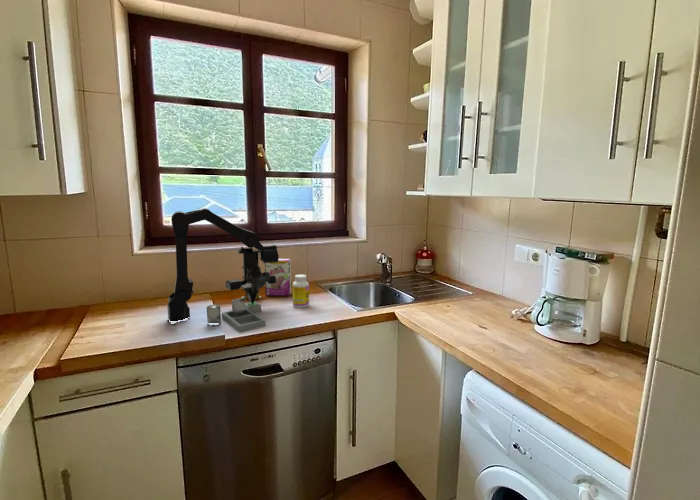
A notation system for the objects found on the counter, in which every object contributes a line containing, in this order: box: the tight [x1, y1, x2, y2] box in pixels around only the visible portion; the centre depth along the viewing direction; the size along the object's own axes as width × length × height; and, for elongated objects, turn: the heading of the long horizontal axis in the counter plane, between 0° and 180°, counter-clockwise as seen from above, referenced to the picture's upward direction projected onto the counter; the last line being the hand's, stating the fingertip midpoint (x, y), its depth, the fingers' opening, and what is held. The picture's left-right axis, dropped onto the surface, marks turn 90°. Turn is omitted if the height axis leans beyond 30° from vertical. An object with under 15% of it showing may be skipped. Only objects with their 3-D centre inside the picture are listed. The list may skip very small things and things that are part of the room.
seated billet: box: [231, 297, 246, 318], centre depth 140 cm, size 4×4×7 cm
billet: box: [206, 304, 222, 325], centre depth 135 cm, size 4×4×7 cm
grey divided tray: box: [221, 308, 267, 333], centre depth 137 cm, size 10×17×3 cm, turn 38°
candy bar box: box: [264, 258, 292, 297], centre depth 172 cm, size 11×5×16 cm, turn 94°
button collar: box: [245, 301, 262, 313], centre depth 150 cm, size 5×5×3 cm
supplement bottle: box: [292, 273, 310, 309], centre depth 157 cm, size 7×7×13 cm
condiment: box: [241, 289, 262, 301], centre depth 165 cm, size 7×8×12 cm
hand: (252, 302), depth 149 cm, fingers closed, pressing on start button
